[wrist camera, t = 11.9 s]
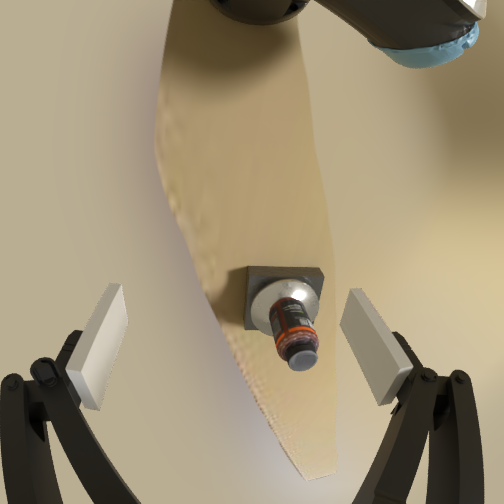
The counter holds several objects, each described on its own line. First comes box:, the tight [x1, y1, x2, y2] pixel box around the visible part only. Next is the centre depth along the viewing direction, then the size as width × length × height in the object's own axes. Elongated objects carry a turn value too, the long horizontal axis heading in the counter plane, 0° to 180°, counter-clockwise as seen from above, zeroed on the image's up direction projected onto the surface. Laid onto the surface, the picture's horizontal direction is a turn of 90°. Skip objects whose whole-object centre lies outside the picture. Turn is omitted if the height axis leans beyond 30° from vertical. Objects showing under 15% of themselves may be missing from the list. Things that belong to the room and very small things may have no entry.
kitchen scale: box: [243, 266, 324, 336], centre depth 49 cm, size 12×12×5 cm
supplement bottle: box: [269, 298, 319, 371], centre depth 41 cm, size 6×6×11 cm
